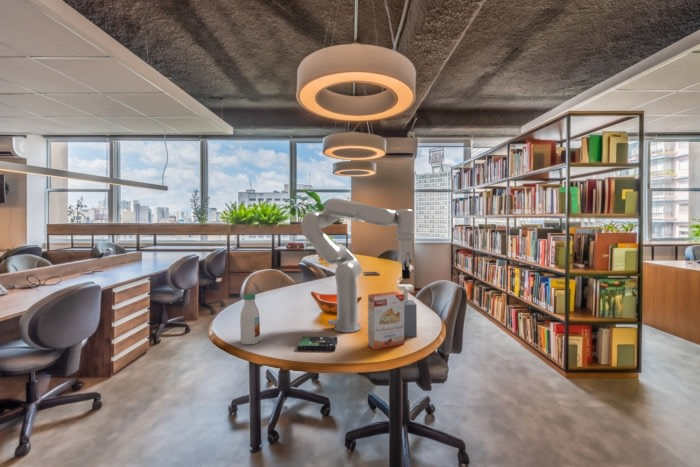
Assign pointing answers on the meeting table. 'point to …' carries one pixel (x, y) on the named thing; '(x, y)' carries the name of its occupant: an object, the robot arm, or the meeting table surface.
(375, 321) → the cracker box
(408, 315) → the block
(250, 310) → the milk bottle
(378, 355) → the meeting table surface
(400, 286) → the pump head
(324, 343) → the disk drive
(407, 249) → the robot arm
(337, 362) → the meeting table surface
